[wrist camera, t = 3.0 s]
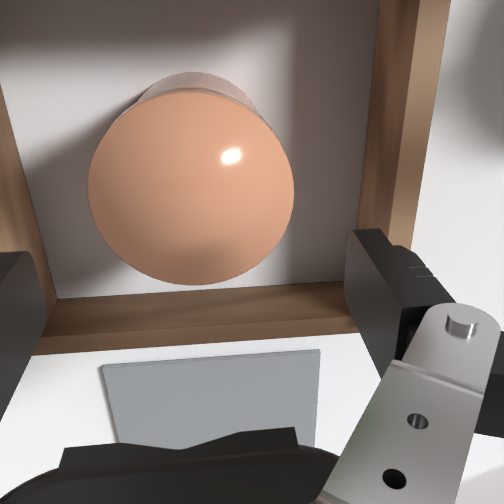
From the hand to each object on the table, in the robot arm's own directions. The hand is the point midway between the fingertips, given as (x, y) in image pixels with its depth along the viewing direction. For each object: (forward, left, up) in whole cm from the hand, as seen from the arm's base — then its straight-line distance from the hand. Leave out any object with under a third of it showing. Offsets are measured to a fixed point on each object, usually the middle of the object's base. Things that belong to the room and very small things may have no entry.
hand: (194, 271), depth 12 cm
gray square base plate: (+18, 0, -10) cm, 20 cm away
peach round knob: (0, 0, -10) cm, 10 cm away
